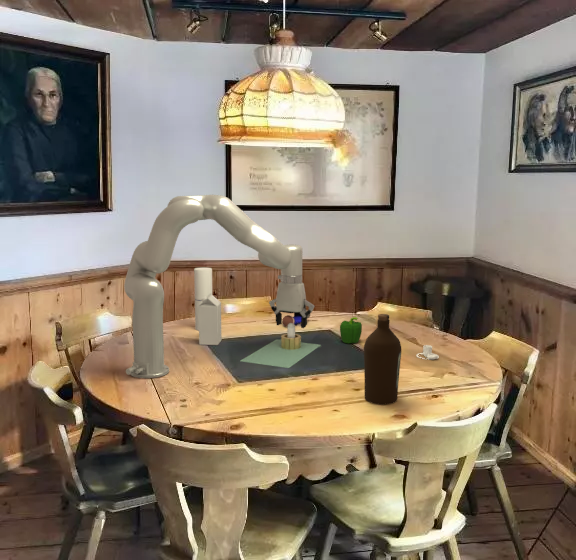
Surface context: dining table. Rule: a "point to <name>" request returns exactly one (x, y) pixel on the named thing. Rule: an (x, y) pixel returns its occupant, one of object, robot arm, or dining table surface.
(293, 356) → the post board
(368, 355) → the olive oil
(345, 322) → the bell pepper
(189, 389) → the dining table surface
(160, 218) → the robot arm
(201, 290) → the cylindrical container
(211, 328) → the milk carton
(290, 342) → the brass ring
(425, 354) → the white charger with cable
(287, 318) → the figurine character
